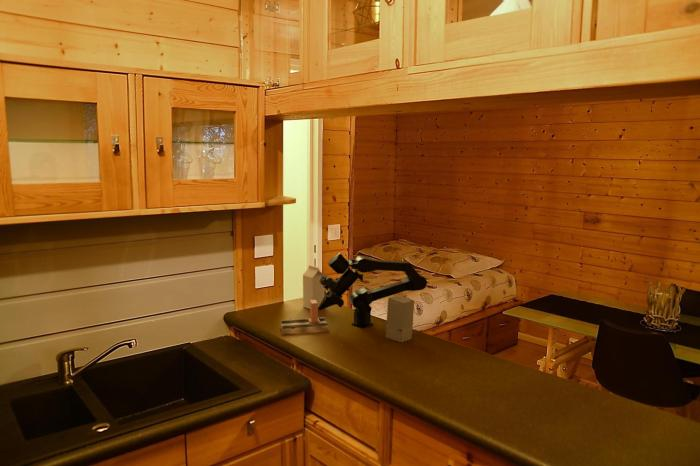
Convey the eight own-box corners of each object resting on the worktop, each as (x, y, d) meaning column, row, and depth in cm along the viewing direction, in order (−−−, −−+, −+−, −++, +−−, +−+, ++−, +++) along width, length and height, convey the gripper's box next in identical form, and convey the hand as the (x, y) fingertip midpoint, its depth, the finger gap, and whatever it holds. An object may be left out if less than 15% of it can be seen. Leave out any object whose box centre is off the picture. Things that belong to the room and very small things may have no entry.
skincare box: (385, 337, 206) (385, 297, 203) (397, 333, 211) (398, 294, 208) (401, 343, 200) (402, 302, 197) (414, 339, 204) (415, 298, 202)
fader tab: (318, 320, 219) (317, 299, 218) (319, 324, 215) (319, 303, 213) (308, 321, 219) (308, 300, 217) (309, 325, 214) (309, 303, 212)
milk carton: (312, 310, 240) (312, 269, 237) (303, 307, 245) (302, 266, 242) (325, 307, 245) (324, 266, 242) (315, 304, 250) (314, 264, 247)
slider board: (324, 323, 223) (324, 316, 222) (328, 331, 213) (328, 324, 213) (280, 326, 219) (280, 319, 219) (282, 334, 210) (282, 327, 209)
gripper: (327, 263, 223) (301, 290, 223) (335, 273, 205) (307, 303, 205) (346, 280, 226) (320, 307, 226) (355, 292, 208) (327, 321, 208)
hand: (318, 309), depth 216 cm, fingers closed
